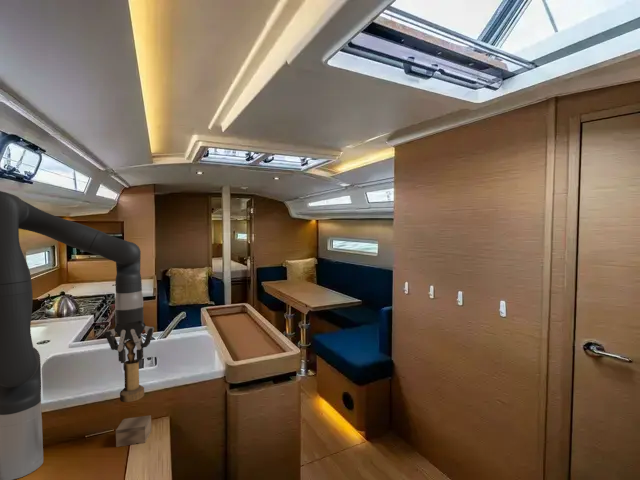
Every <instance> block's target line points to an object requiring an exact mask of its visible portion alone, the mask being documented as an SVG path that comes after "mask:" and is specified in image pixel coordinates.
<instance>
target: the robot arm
mask: <svg viewBox="0 0 640 480" xmlns="http://www.w3.org/2000/svg"><path fill="white" fill-rule="evenodd" d="M19 230H24V231H29V232H32V233H37V234H38V235H39V234H40V235H43V236H45V237H48V238H51V239H53V240H55V241H58V242H60V243H61V244H64V245H66V246H69V247H71V248H74V249H77V250H81V251H83V252H86V253H89V254H92V255H97V256H99V257H100V256H101V257H103V258H105V259H107V260H108V261H109V260H110V261H112V262H115V268H116V276H115V282H114V283H115V296H114V297H115V298H114V306H115V308H114V309H115V311H114V312H115V313H114V314H115V326H114V328H112V329H108V330H106V331H105V332H104V335H105V336H104V337H105V338H106V341H107V343H108V344H109V347H110V349H111V350H112V351H117V353H118V354H117V355H118V356H117V357H118V362H120V364H124V362H126V361H127V359H126V357H127V355H126V353H127V352H126V347H125V343H126V341H127V340H129V339H132V340H133V339H134V342H135V344H136V346H135V347H136V352H135V353H136V360H137V362H139V363H140V362H141V360H142V359H143V358H144V348H147V347H148V346H149V345H150V343H151V341H152V338H153V335H154V332H155V326H153V325H151V326H147V325H146V324H145V321H144V296H143V288H142V287H143V283H142V282H143V281H142V275H141V255H142V254H141V248H140V247H139V246H138V244H136V243H134V242H132V241H129V240H125V239H122V238H119V237H115V236H112V235H110V234H108V233H106V232H104V231H101V230H99V229H96V228H93V227H90V226H88V225H85V224H82V223H78V222H75V221H72V220H69V219H66V218H62V217H59V216H56V215H53V214H51V213H49V212H47V211H44V210H42V209H40V208H38V207H36V206H34V205H31V204H30V203H28V202H27V201H25V200H23V199H21V198H20V197H19V196H17V195H15V194H12V193H9V192H6V191H2V190H0V480H16V479H20V478H22V477H25V476H28V475H29V474H31V473H33V472H34V471H36V470H38V469H39V468H40V467H41V466H42V465H43V464H44V448H43V447H44V445H43V444H44V443H43V442H44V441H43V439H44V438H43V417H42V373H41V372H42V369H41V366H42V365H41V355H40V352H39V350H37V349H36V348H35V347H34V344H33V339H32V332H31V326H32V324H31V323H32V314H33V301H34V300H33V285H32V283H33V282H32V276H31V270H30V268H29V265H28V262H27V259H26V258H25V256H24V253H23V251H22V247H21V244H20V233H19V232H20V231H19ZM144 331H145V334H146V337H145V338H144V342H143V336H142V334H143V332H144ZM116 334H117V335H118V336H119V341H117V338H116V337H115V336H116Z"/></svg>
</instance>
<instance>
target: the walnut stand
mask: <svg viewBox="0 0 640 480" xmlns="http://www.w3.org/2000/svg"><path fill="white" fill-rule="evenodd" d="M151 433H152V415H144V416H135V417H128V418H123V419H122V420H121V422H120V423H119V425H118V427H117V428H115V447H116V448H118V447H119V448H120V447H126V446H132V444H133V445H137V444H136V443H140V444H144V443H145V442H147V441H148V439H149V437H150V434H151ZM146 440H147V441H146Z"/></svg>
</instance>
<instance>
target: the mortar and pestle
mask: <svg viewBox="0 0 640 480" xmlns="http://www.w3.org/2000/svg"><path fill="white" fill-rule="evenodd" d="M136 347H137V346H136V344H135V342H134V339H133V340H132V339H128V340H127V341H126V343H125V349H127V352H128V353H127V355H126V357H127V360H126V361H125V362H124V363H123V368H124V369H123V371H124V388H123V389H122V390H121V391H120V392H119V401H120V402H122V403H132V402H135V401H139V400H140V399H143V397H145V387H144V386H142V385H141V384H140V369H139V368H140V366H139V364H140V362H137V359H135V358H136V352H134V350H135V348H136Z"/></svg>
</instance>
